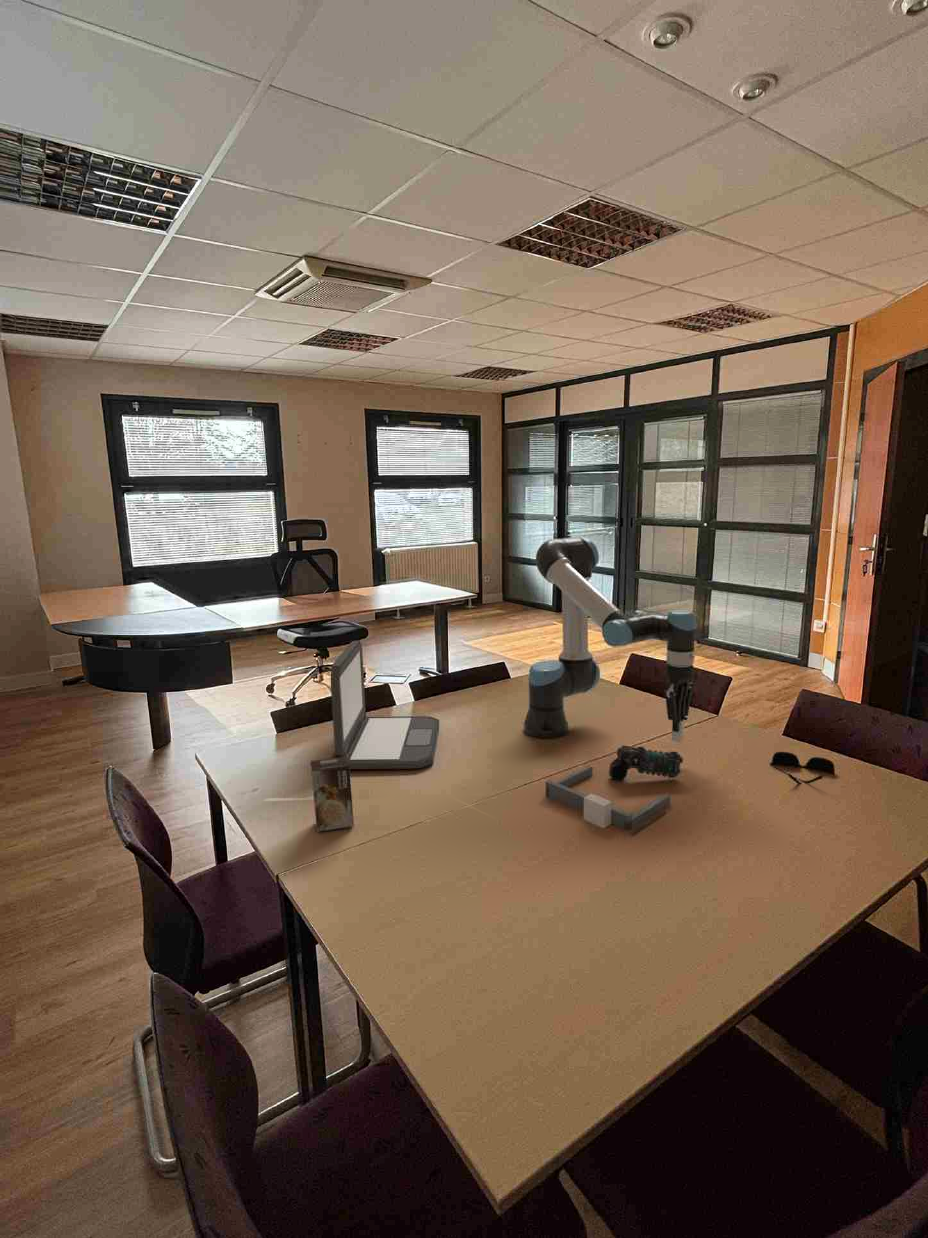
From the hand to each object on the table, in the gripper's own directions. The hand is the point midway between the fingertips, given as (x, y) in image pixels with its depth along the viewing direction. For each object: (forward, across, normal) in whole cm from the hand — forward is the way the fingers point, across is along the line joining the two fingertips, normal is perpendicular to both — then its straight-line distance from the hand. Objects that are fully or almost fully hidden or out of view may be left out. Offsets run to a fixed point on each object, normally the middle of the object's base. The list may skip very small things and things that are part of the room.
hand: (677, 740), depth 186 cm
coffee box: (+6, -92, +40) cm, 101 cm away
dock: (+7, -35, 0) cm, 36 cm away
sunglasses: (+8, +14, -30) cm, 34 cm away
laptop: (+6, -54, +71) cm, 90 cm away
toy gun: (+8, -18, +1) cm, 19 cm away
